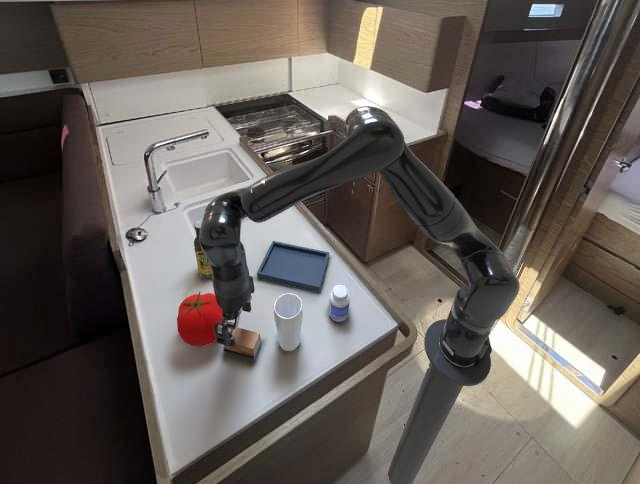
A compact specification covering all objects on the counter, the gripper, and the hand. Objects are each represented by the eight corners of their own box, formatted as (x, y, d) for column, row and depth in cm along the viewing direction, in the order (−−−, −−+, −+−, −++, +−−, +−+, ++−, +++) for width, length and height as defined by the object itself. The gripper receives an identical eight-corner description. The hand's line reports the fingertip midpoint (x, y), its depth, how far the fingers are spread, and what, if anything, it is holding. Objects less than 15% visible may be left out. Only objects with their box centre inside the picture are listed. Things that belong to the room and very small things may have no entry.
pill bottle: (351, 318, 88) (354, 296, 83) (333, 325, 87) (335, 302, 82) (343, 301, 93) (345, 279, 88) (325, 307, 91) (327, 285, 86)
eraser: (262, 342, 82) (260, 331, 80) (254, 362, 78) (252, 351, 76) (233, 334, 84) (231, 323, 81) (223, 354, 80) (221, 342, 77)
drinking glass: (273, 333, 84) (270, 297, 77) (298, 325, 86) (297, 289, 79) (279, 359, 79) (277, 323, 71) (306, 349, 81) (306, 313, 73)
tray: (329, 257, 106) (329, 252, 105) (319, 292, 95) (319, 287, 94) (273, 245, 110) (272, 240, 109) (257, 278, 99) (256, 272, 98)
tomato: (207, 366, 77) (198, 335, 70) (170, 342, 82) (158, 310, 75) (239, 324, 86) (233, 293, 79) (204, 305, 91) (196, 274, 84)
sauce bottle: (202, 282, 97) (190, 234, 87) (197, 268, 101) (185, 220, 91) (223, 273, 100) (214, 226, 90) (217, 260, 104) (208, 213, 94)
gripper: (232, 317, 61) (240, 361, 70) (261, 259, 73) (265, 303, 82) (197, 307, 63) (209, 352, 71) (231, 252, 75) (238, 296, 83)
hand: (239, 326), depth 76 cm, fingers open, 8 cm apart
